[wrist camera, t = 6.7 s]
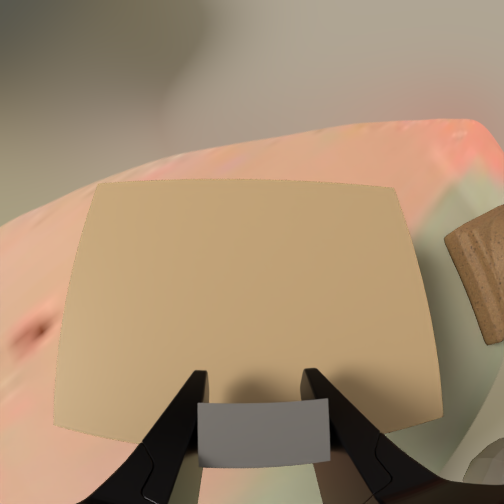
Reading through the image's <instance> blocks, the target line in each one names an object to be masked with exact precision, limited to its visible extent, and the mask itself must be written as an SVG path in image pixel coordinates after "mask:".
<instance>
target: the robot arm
mask: <svg viewBox="0 0 504 504" xmlns="http://www.w3.org/2000/svg"><path fill="white" fill-rule="evenodd" d="M300 394H301V401H306V400H317V399H326V398H328V409H329V431H330V461H325V462H318V463H313V465H314V469H315V473H316V477H317V481H318V485H319V489H320V493H321V497H322V501H323V504H504V484H503V485H489V484H473V483H462V482H454V481H449V480H446V479H443V478H441V477H439V476H437V475H436V474H434V473H433V472H431V471H430V470H428V469H427V468H425V467H424V466H422V465H421V464H420V463H418V462H417V461H415V460H414V459H413V458H411V457H410V456H409V455H407V454H406V453H405V452H403V451H402V450H401V449H400V448H398V447H397V446H396V445H395V444H394V443H393V442H392V441H390V440H389V439H388V438H387V437H386V436H385V435H384V434H383V433H382V432H381V433H380V430H379V429H378V428H377V427H376V426H375V425H374V424H372V423H371V422H370V421H369V420H368V419H367V418H366V417H365V416H364V415H363V414H362V413H361V412H360V411H359V410H358V409H357V408H356V407H355V406H354V405H353V404H352V403H351V402H350V401H349V400H348V399H347V398H346V397H345V396H344V395H343V394H342V393H341V392H340V391H339V390H338V389H337V388H336V387H335V386H334V385H333V384H332V383H331V382H330V381H329V380H328V379H327V378H326V377H325V376H324V375H323V374H322V373H321V372H320V371H319V370H318V369H317V368H305V369H304V370H303V373H302V378H301V383H300ZM198 403H209V380H208V372H207V371H206V370H194V371H193V373H192V374H191V375H190V377H189V378H188V379H187V381H186V382H185V384H184V385H183V386H182V388H181V389H180V390H179V392H178V393H177V394H176V396H175V397H174V398H173V400H172V401H171V402H170V404H169V405H168V406H167V408H166V409H165V411H164V412H163V413H162V415H161V416H160V417H159V419H158V420H157V421H156V423H155V424H154V425H153V427H152V428H151V429H150V430H149V432H148V433H147V434H146V436H145V437H144V438H143V440H142V442H140V443H139V445H138V446H137V447H136V449H135V450H134V451H133V453H132V454H131V455H130V456H129V457H128V459H127V460H126V461H125V462H124V463H123V464H122V465H121V466H120V467H119V468H118V469H117V470H116V471H115V472H114V473H113V474H112V475H111V476H110V477H109V478H108V479H107V480H106V481H105V482H104V483H103V484H102V485H101V486H100V487H98V488H97V489H96V490H95V491H94V492H93V493H92V494H91V495H90V496H88V497H87V498H86V499H84V500H82V501H81V502H79V503H77V504H198V497H199V491H200V484H201V477H202V471H203V467H199V463H198Z"/></svg>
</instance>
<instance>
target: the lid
mask: <svg viewBox="0 0 504 504" xmlns="http://www.w3.org/2000/svg"><path fill="white" fill-rule="evenodd" d="M305 368H317V369H318V370H319V371H320V372H321V373H322V374H323V375H324V376H325V377H326V378H327V379H328V380H329V381H330V382H331V383H332V384H333V385H334V386H335V387H336V388H337V389H338V390H339V391H340V392H341V393H342V394H343V395H344V396H345V397H346V398H347V399H348V400H349V401H350V402H351V403H352V404H353V405H354V406H355V407H356V408H357V409H358V410H359V411H360V412H361V413H362V414H363V415H364V416H365V417H366V418H367V419H368V420H369V421H370V422H371V423H372V424H374V425H375V426H376V427H377V428H378V429H379V430H380V433H381V432H382V433H383V434H385V433H389V432H393V431H397V430H401V429H405V428H408V427H412V426H415V425H419V424H422V423H425V422H429V421H432V420H435V419H438V418H441V417H443V403H442V391H441V381H440V372H439V364H438V357H437V350H436V344H435V338H434V332H433V326H432V321H431V316H430V311H429V306H428V301H427V297H426V292H425V288H424V284H423V280H422V276H421V272H420V268H419V264H418V261H417V257H416V254H415V250H414V247H413V243H412V240H411V237H410V233H409V230H408V227H407V224H406V221H405V218H404V215H403V212H402V209H401V206H400V203H399V201H398V198H397V195H396V192H395V190H394V188H390V187H379V186H369V185H357V184H344V183H329V182H312V181H291V180H260V179H182V180H151V181H130V182H114V183H100V184H98V185H97V188H96V191H95V194H94V197H93V200H92V203H91V206H90V209H89V212H88V215H87V218H86V221H85V225H84V228H83V231H82V235H81V238H80V242H79V246H78V249H77V253H76V257H75V261H74V265H73V269H72V274H71V278H70V283H69V287H68V292H67V297H66V302H65V308H64V314H63V320H62V326H61V332H60V340H59V347H58V356H57V366H56V377H55V392H54V425H55V426H58V427H62V428H65V429H69V430H73V431H76V432H80V433H85V434H89V435H93V436H98V437H102V438H107V439H112V440H118V441H123V442H129V443H136V444H139V443H140V442H142V440H143V438H144V437H145V436H146V434H147V433H148V432H149V430H150V429H151V428H152V427H153V425H154V424H155V423H156V421H157V420H158V419H159V417H160V416H161V415H162V413H163V412H164V411H165V409H166V408H167V406H168V405H169V404H170V402H171V401H172V400H173V398H174V397H175V396H176V394H177V393H178V392H179V390H180V389H181V388H182V386H183V385H184V384H185V382H186V381H187V379H188V378H189V377H190V375H191V374H192V373H193V371H194V370H206V371H207V372H208V380H209V403H198V463H199V467H204V468H264V467H280V466H292V465H302V464H310V463H318V462H325V461H330V431H329V409H328V398H326V399H317V400H306V401H301V394H300V383H301V378H302V373H303V370H304V369H305Z"/></svg>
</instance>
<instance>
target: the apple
mask: <svg viewBox="0 0 504 504" xmlns="http://www.w3.org/2000/svg"><path fill="white" fill-rule="evenodd" d="M463 483H473V484H489V485H503V484H504V438H501V439H498V440H497V441H495V442H493V443H492V444H490V445H488V446H487V447H486V448H485V449H484V450H483V451H482V452H481V453H480V454H479V455H477V456H476V457H475V458H474V459H473V460H472V461H471V463H470V465H469V467H468V469H467V471H466V473H465V475H464V478H463Z"/></svg>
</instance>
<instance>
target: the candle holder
mask: <svg viewBox="0 0 504 504" xmlns="http://www.w3.org/2000/svg"><path fill="white" fill-rule="evenodd" d="M444 241H445V244H446V246H447V249H448V251H449V253H450V256H451V258H452V260H453V262H454V264H455V267H456V269H457V271H458V273H459V276H460V278H461V280H462V283H463V285H464V287H465V290H466V292H467V295H468V297H469V300H470V302H471V305H472V308H473V310H474V313H475V316H476V319H477V321H478V324H479V327H480V330H481V333H482V335H483V338H484V341H485V343H486V344H487V345H490V344H495V343H499V342H501V341H503V340H504V205H501V206H498V207H496V208H494V209H492V210H490V211H489V212H487V213H485V214H483V215H481V216H479V217H477V218H475V219H473V220H471V221H469V222H467V223H465V224H463V225H462V226H460V227H459V228H457V229H455V230H454V231H453V232H451V233H450V234H448V235H447V236H446V237H445V238H444Z"/></svg>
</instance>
